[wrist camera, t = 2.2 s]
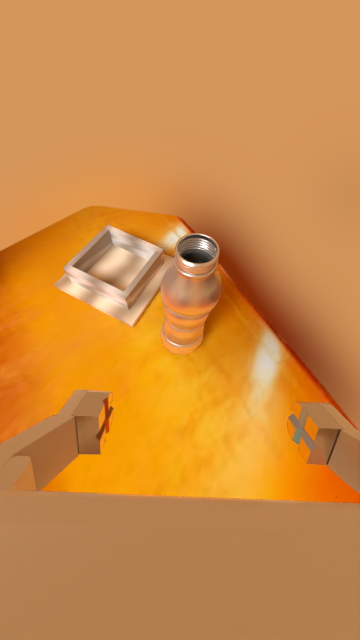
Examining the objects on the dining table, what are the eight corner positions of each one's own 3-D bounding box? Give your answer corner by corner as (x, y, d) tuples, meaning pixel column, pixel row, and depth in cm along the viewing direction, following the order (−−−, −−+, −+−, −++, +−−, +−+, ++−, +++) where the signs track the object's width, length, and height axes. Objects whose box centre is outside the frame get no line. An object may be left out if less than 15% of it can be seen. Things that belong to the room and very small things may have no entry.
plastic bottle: (154, 331, 36) (143, 234, 18) (189, 315, 38) (211, 213, 20) (171, 365, 33) (179, 292, 16) (208, 347, 35) (253, 262, 17)
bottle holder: (56, 287, 39) (44, 271, 35) (110, 233, 45) (105, 214, 41) (133, 327, 36) (129, 314, 32) (177, 263, 43) (179, 246, 39)
